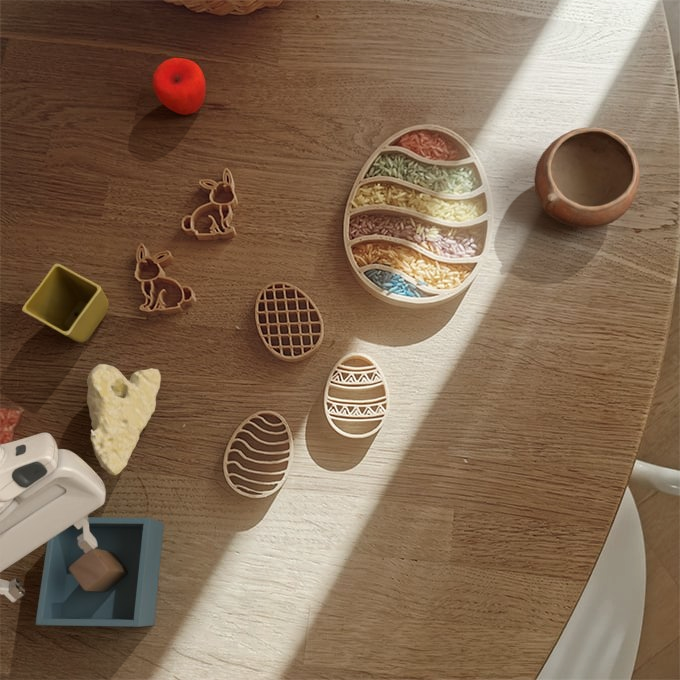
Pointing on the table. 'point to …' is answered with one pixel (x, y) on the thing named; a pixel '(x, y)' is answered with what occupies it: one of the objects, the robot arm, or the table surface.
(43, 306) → the flower pot
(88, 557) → the wooden block
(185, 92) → the apple
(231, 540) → the table surface
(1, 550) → the robot arm
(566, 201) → the bowl
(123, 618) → the tub
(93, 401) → the cheese
